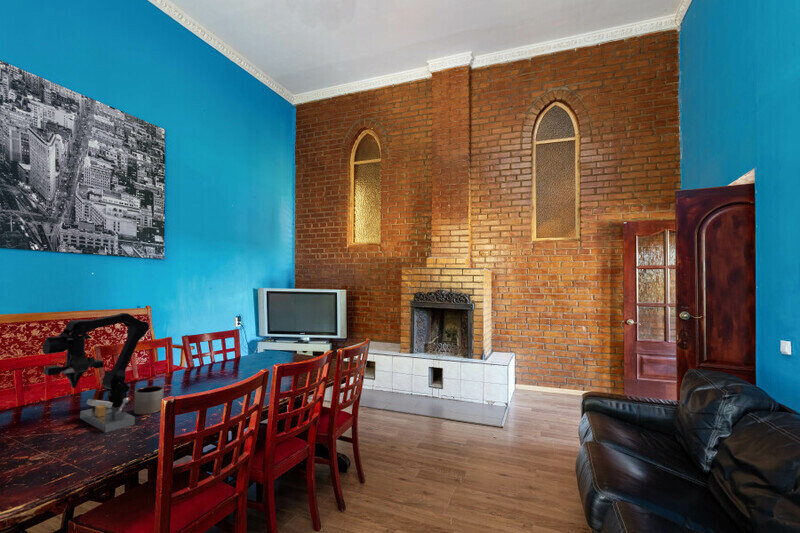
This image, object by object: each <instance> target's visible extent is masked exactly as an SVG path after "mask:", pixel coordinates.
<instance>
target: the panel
mask: <svg viewBox="0 0 800 533" xmlns="http://www.w3.org/2000/svg"><path fill="white" fill-rule="evenodd" d="M103 406H105V405H103ZM95 407H96V406H91V408H89V409H85V410H81V411H79V412H80V415H79V420H82V421H84V422H86V423H88V424H89V425H91V426H93V427H94V428H96V429H99V430H100V431H101V432H104V433H108V432H113V431H116V430H120V429H124V428H126V427H131V426H134V425H135V424H136V422H135V421H136V417H135V416H134V415H133V414H132V415H131V414H130V413H127V412H126V411H123V410H121V412H120V413H118V414H115V416H114V413H116V412H117V411H118V410H119V408H117V407H112V406H111V408H109V407H106V413H105V416H101V417H97V416H95Z"/></svg>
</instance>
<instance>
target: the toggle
mask: <svg viewBox="0 0 800 533" xmlns="http://www.w3.org/2000/svg"><path fill="white" fill-rule="evenodd" d="M129 401H130V398H128V397H126V398H124V399H123V403H122V405H121V406H119V408H118V409H119V410H118V411H117V412H116V413H114V416H115V414H118V413H120V412H121V411H123V408H124V407H125V406H126V405H127V404H126V403H129ZM125 404H126V405H125Z"/></svg>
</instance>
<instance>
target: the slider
mask: <svg viewBox="0 0 800 533" xmlns="http://www.w3.org/2000/svg"><path fill="white" fill-rule="evenodd" d="M105 413H106V406H103V405H100V406H96V407H95V416H97V417H101V416H105Z"/></svg>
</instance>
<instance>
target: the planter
mask: <svg viewBox="0 0 800 533" xmlns="http://www.w3.org/2000/svg"><path fill="white" fill-rule="evenodd" d="M164 388H165V387H163V386H160V385H153V386H152V385H149V386H144V387H140V388H137V389H136V390H135V391H134V404H133V412H134V414H136V415H140V416H143V415H144V416H146V415H152V413H153V414H156V412H157V413H158V412H161V411H162V410H161V400H162V399H163V400H164V391H165V390H164Z"/></svg>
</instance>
